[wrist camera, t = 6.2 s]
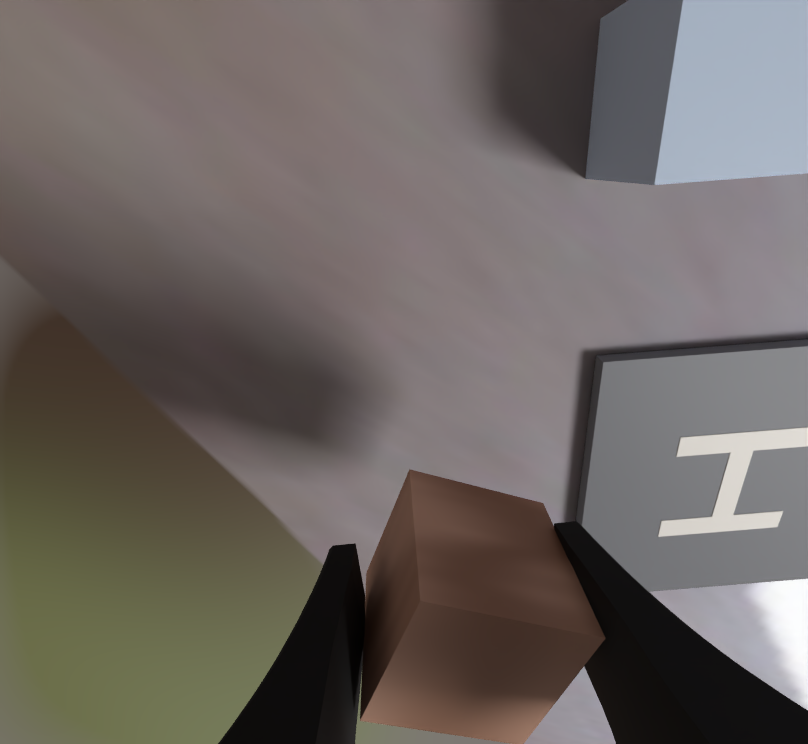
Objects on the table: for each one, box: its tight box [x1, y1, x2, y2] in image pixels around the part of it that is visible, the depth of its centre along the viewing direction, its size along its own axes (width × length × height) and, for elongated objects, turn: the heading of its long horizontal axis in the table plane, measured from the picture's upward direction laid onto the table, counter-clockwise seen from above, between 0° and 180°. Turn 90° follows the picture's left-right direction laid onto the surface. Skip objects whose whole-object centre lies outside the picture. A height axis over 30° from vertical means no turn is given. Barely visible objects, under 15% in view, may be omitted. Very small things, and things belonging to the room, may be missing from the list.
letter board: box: [576, 339, 808, 592], centre depth 19 cm, size 12×12×1 cm
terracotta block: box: [360, 470, 605, 744], centre depth 11 cm, size 4×4×4 cm
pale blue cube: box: [585, 0, 808, 185], centre depth 11 cm, size 4×4×4 cm
